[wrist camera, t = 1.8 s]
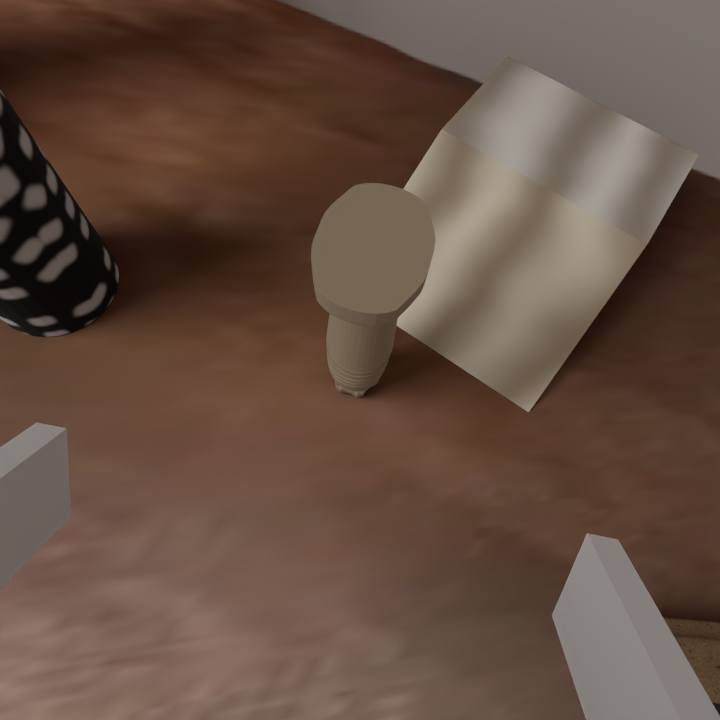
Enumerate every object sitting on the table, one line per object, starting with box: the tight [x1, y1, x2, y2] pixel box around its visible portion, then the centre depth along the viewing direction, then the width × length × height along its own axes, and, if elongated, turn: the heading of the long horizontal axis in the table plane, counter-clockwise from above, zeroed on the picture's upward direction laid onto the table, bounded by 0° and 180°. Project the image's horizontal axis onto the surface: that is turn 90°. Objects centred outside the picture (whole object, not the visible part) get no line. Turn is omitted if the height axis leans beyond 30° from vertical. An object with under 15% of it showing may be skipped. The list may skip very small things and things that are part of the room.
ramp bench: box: [396, 57, 699, 412], centre depth 37 cm, size 16×22×8 cm
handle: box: [311, 183, 435, 398], centre depth 27 cm, size 5×6×15 cm
